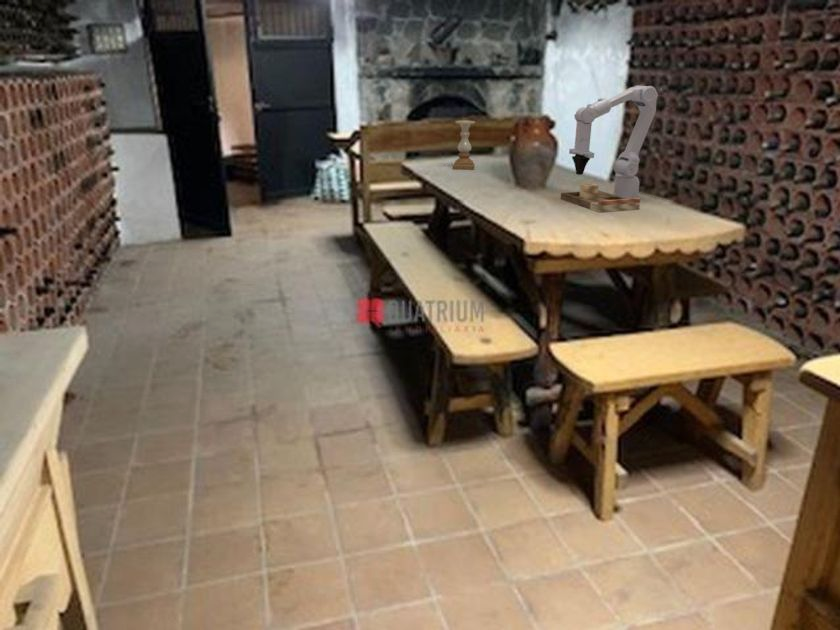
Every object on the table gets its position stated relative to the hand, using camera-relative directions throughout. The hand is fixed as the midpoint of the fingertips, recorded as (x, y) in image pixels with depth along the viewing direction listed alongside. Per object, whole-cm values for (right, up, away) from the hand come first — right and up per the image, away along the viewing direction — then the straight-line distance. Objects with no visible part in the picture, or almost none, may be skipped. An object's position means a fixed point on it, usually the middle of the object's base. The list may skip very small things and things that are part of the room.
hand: (579, 174), depth 261 cm
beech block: (+3, -10, -4) cm, 11 cm away
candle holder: (-41, +21, +84) cm, 95 cm away
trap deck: (+7, -12, -3) cm, 14 cm away
